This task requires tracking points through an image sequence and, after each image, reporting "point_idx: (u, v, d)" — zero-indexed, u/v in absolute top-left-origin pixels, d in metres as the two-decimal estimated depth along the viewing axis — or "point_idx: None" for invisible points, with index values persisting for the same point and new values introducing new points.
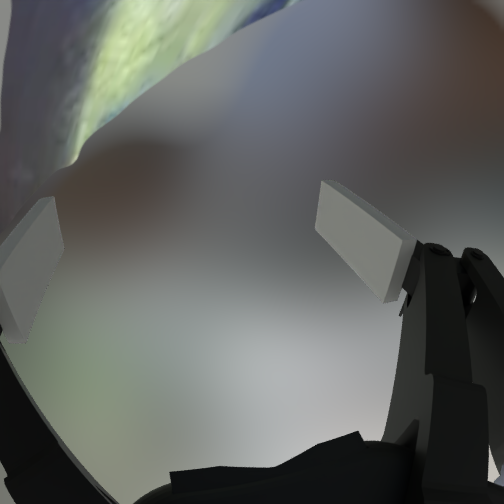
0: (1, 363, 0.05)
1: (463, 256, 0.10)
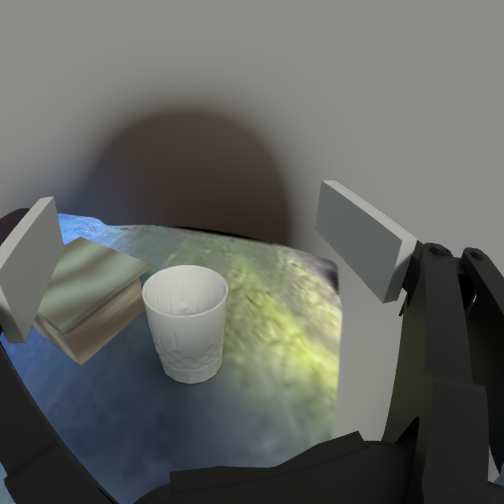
0: (1, 363, 0.05)
1: (463, 256, 0.10)
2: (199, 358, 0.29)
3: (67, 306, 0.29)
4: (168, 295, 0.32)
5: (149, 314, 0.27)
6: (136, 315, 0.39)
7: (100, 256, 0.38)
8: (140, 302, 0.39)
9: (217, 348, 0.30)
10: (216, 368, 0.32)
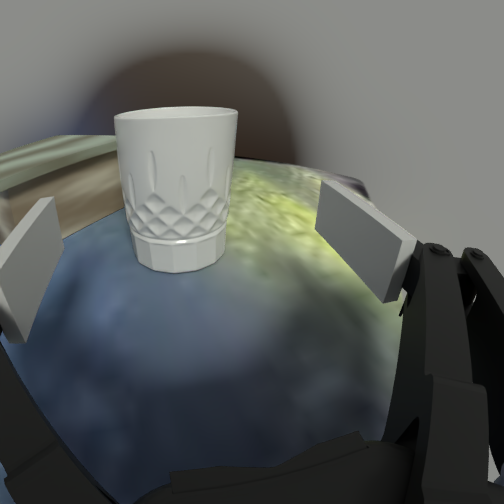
0: (1, 363, 0.05)
1: (463, 256, 0.10)
2: (190, 213, 0.18)
3: (17, 167, 0.19)
4: None
5: (119, 135, 0.17)
6: (111, 210, 0.28)
7: (75, 139, 0.28)
8: (118, 193, 0.29)
9: (219, 205, 0.20)
10: (216, 249, 0.21)
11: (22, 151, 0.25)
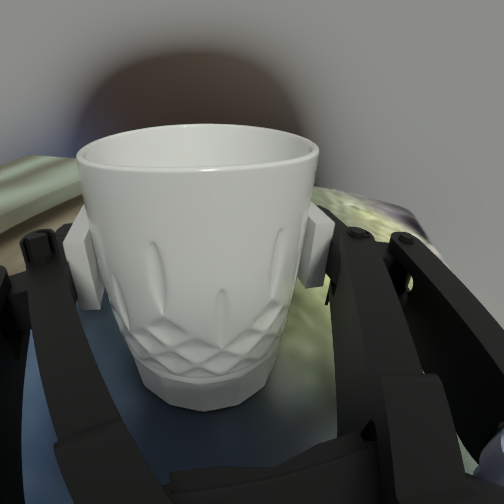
0: (76, 332, 0.06)
1: (391, 243, 0.11)
2: (234, 344, 0.10)
3: None
4: None
5: (86, 197, 0.08)
6: None
7: (46, 165, 0.19)
8: None
9: (279, 316, 0.11)
10: (268, 371, 0.13)
11: None
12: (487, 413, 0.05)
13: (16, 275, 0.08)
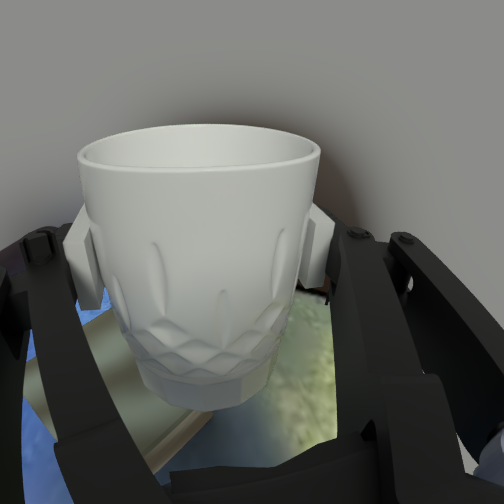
0: (76, 332, 0.06)
1: (391, 243, 0.11)
2: (235, 344, 0.10)
3: None
4: None
5: (87, 197, 0.08)
6: (201, 426, 0.26)
7: None
8: None
9: (280, 317, 0.11)
10: (269, 371, 0.13)
11: None
12: (487, 413, 0.05)
13: (16, 275, 0.08)
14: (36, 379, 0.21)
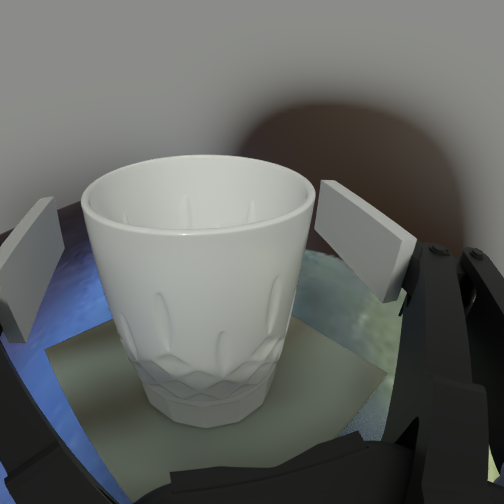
0: (1, 363, 0.05)
1: (463, 256, 0.10)
2: (234, 373, 0.11)
3: None
4: (156, 225, 0.14)
5: (93, 244, 0.09)
6: None
7: None
8: None
9: (276, 345, 0.12)
10: (265, 391, 0.14)
11: None
12: None
13: None
14: (85, 364, 0.15)
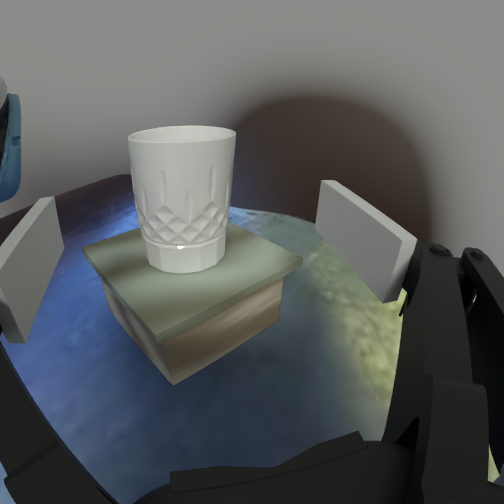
0: (1, 363, 0.05)
1: (463, 256, 0.10)
2: (195, 222, 0.22)
3: (172, 299, 0.21)
4: None
5: (133, 155, 0.20)
6: (265, 326, 0.29)
7: (230, 237, 0.30)
8: (275, 309, 0.29)
9: (219, 215, 0.23)
10: (217, 253, 0.25)
11: None
12: None
13: None
14: (110, 251, 0.26)
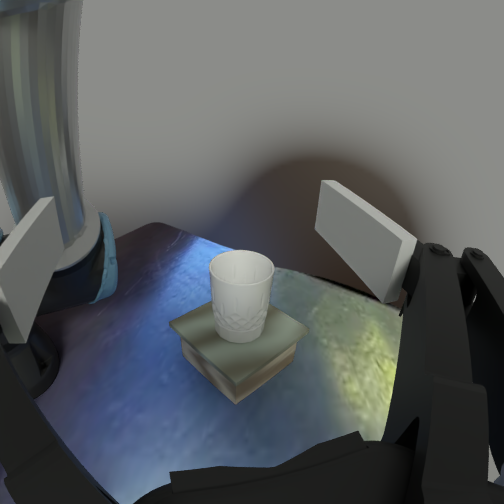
0: (1, 363, 0.05)
1: (463, 256, 0.10)
2: (251, 320, 0.39)
3: (240, 361, 0.38)
4: (223, 274, 0.43)
5: (216, 285, 0.37)
6: (285, 365, 0.46)
7: None
8: (291, 355, 0.46)
9: (264, 312, 0.40)
10: (261, 330, 0.42)
11: None
12: None
13: None
14: (190, 325, 0.43)
